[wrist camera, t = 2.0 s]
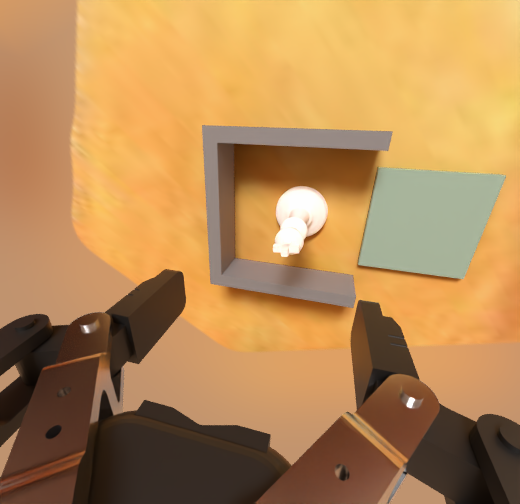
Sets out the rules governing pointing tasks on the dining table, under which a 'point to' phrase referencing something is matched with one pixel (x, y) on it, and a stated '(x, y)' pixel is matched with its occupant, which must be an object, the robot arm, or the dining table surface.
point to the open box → (223, 212)
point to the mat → (427, 220)
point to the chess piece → (298, 218)
